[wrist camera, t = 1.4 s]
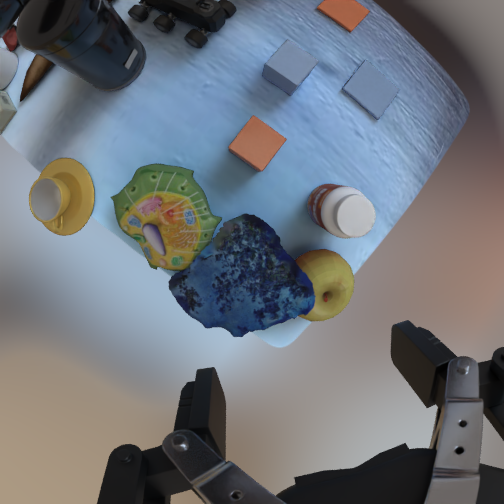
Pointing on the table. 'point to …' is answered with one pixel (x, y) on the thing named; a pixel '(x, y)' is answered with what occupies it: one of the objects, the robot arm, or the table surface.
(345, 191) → the pill bottle
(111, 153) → the table surface
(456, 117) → the table surface
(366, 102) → the slate-blue mat
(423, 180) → the table surface
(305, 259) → the apple
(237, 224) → the rock
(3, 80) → the mug
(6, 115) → the cosmetic box
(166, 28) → the toy vehicle
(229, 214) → the table surface
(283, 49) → the slate-blue block
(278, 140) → the terracotta block
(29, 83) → the bread
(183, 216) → the educational model
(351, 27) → the terracotta mat
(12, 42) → the dentures model
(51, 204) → the cup
